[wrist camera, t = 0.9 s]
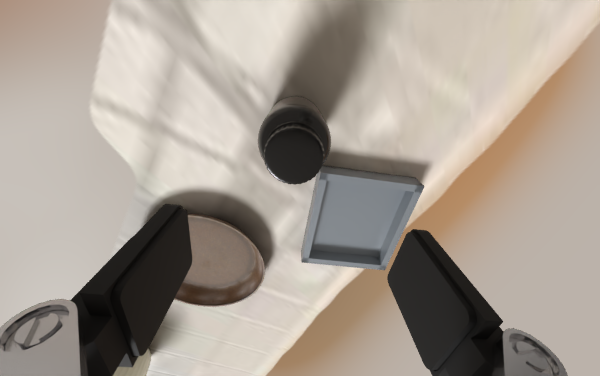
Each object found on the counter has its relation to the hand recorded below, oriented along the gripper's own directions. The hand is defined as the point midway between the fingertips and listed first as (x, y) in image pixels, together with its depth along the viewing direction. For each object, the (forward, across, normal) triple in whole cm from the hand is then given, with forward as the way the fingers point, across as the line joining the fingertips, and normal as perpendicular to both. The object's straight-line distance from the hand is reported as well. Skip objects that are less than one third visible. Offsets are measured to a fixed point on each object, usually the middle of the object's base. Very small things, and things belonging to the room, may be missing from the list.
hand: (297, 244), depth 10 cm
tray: (+21, -11, +12) cm, 27 cm away
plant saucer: (+22, +12, +23) cm, 34 cm away
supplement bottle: (+21, 0, -1) cm, 21 cm away
